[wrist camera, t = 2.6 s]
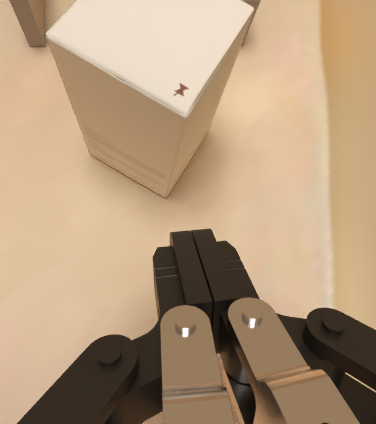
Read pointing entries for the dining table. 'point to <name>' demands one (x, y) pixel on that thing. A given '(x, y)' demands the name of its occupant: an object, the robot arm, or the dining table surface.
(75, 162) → the dining table surface
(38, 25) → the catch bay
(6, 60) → the dining table surface
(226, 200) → the dining table surface
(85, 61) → the supplement box
